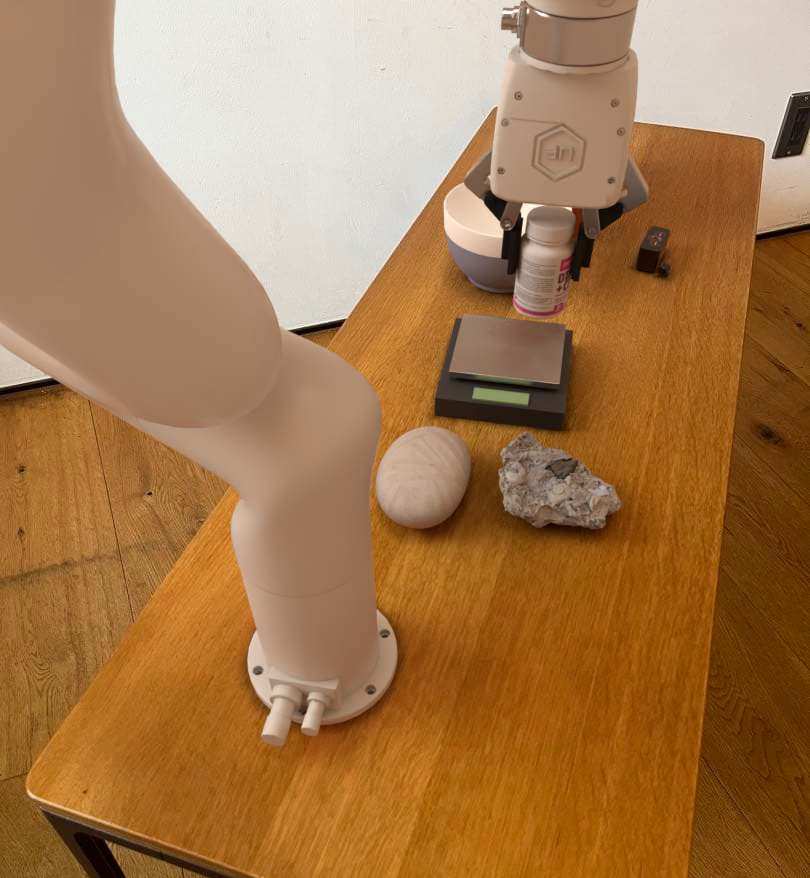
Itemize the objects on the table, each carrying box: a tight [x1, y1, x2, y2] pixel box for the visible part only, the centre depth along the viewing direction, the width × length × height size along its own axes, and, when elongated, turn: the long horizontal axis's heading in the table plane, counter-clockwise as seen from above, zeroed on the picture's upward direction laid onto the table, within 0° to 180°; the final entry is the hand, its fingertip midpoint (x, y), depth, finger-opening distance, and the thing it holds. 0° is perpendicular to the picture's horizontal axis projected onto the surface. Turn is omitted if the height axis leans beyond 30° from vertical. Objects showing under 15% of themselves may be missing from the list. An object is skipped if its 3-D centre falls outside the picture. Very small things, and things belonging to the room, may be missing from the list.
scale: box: [434, 317, 574, 432], centre depth 89 cm, size 15×14×3 cm
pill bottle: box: [512, 205, 576, 320], centre depth 68 cm, size 5×5×8 cm
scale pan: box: [449, 313, 567, 389], centre depth 88 cm, size 11×12×1 cm
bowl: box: [443, 175, 572, 294], centre depth 101 cm, size 16×16×10 cm
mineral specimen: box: [497, 431, 623, 530], centre depth 76 cm, size 6×11×12 cm
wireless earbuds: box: [635, 225, 672, 278], centre depth 105 cm, size 5×7×3 cm, turn 155°
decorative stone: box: [375, 425, 472, 530], centre depth 77 cm, size 13×9×5 cm
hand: (544, 267), depth 68 cm, fingers closed on pill bottle, 4 cm apart
